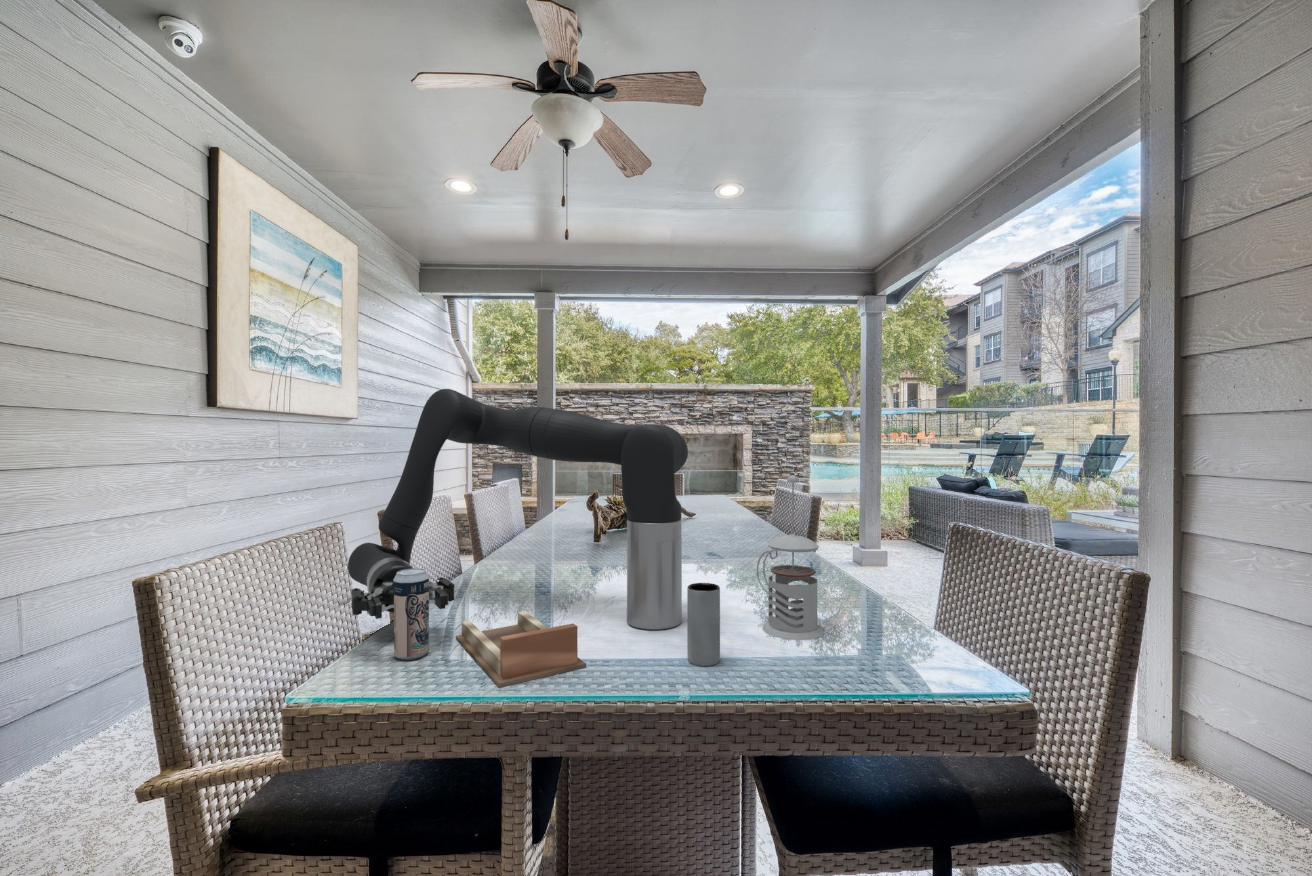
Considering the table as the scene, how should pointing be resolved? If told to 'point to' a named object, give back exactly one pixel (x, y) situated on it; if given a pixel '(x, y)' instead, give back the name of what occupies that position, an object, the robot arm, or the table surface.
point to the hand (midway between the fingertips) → (412, 606)
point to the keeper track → (522, 650)
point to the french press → (792, 589)
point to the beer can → (411, 614)
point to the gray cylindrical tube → (703, 624)
